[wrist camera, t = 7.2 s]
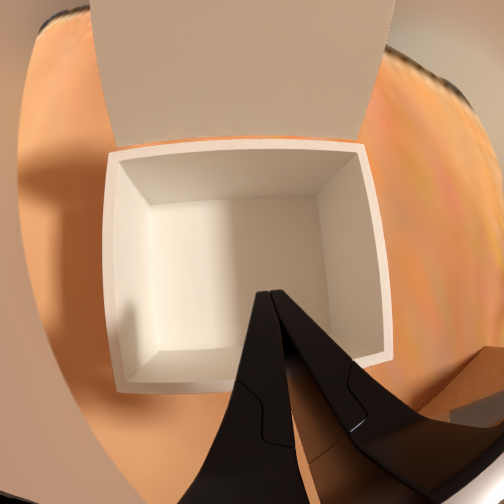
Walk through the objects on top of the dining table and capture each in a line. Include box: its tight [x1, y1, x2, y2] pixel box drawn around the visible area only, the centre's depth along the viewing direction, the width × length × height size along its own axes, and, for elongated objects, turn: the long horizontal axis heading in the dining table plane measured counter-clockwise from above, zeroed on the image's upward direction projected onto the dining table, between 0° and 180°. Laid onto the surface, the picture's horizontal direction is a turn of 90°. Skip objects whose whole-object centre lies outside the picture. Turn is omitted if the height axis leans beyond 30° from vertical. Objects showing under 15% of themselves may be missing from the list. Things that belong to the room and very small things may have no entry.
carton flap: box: [90, 0, 396, 148], centre depth 8 cm, size 12×13×1 cm
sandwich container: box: [417, 346, 504, 428], centre depth 13 cm, size 9×15×15 cm, turn 113°
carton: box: [102, 139, 393, 394], centre depth 16 cm, size 12×14×8 cm
